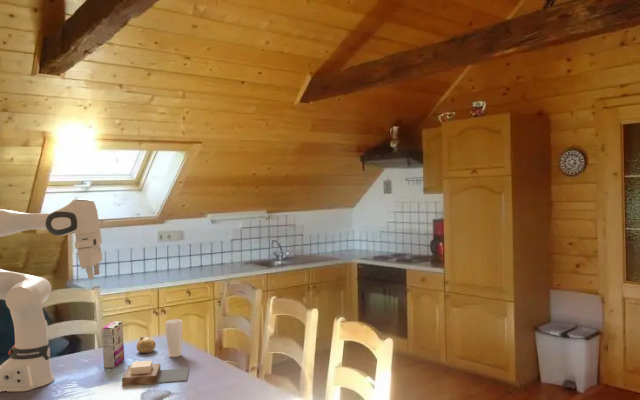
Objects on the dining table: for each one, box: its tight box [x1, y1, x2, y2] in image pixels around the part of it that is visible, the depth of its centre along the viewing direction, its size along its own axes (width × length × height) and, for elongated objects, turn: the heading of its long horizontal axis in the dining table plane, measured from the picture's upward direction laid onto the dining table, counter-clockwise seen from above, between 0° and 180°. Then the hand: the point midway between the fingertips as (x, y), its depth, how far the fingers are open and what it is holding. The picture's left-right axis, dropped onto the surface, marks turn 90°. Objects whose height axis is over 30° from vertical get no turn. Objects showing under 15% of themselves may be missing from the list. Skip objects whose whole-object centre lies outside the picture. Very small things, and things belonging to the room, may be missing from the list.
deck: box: [121, 363, 161, 387], centre depth 215 cm, size 12×14×3 cm
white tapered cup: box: [165, 318, 183, 358], centre depth 242 cm, size 7×7×15 cm
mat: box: [156, 367, 190, 384], centre depth 217 cm, size 11×14×1 cm
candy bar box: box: [101, 320, 125, 369], centre depth 233 cm, size 11×5×16 cm, turn 0°
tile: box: [130, 360, 153, 374], centre depth 215 cm, size 7×7×2 cm
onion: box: [136, 335, 157, 354], centre depth 249 cm, size 8×8×7 cm
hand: (94, 276), depth 216 cm, fingers open, 8 cm apart
